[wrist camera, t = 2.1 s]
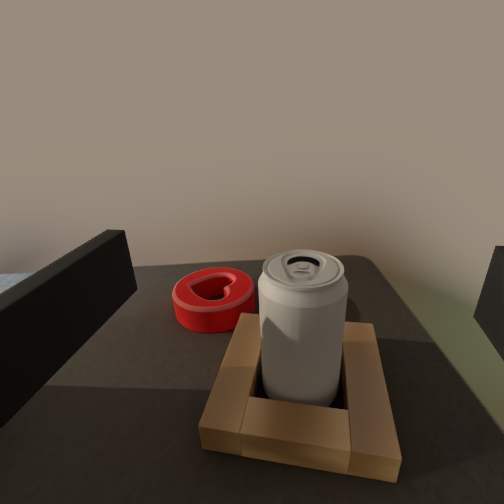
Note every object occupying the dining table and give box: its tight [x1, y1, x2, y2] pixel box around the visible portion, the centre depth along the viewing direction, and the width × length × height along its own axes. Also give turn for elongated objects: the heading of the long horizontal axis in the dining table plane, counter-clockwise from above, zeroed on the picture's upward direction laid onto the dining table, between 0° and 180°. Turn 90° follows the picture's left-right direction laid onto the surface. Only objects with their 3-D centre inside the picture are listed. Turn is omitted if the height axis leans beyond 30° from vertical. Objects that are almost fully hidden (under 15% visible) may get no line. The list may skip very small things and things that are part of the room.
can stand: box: [198, 313, 402, 483], centre depth 27 cm, size 13×13×2 cm
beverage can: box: [258, 250, 348, 407], centre depth 25 cm, size 6×6×12 cm
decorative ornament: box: [172, 267, 255, 333], centre depth 38 cm, size 10×10×3 cm
